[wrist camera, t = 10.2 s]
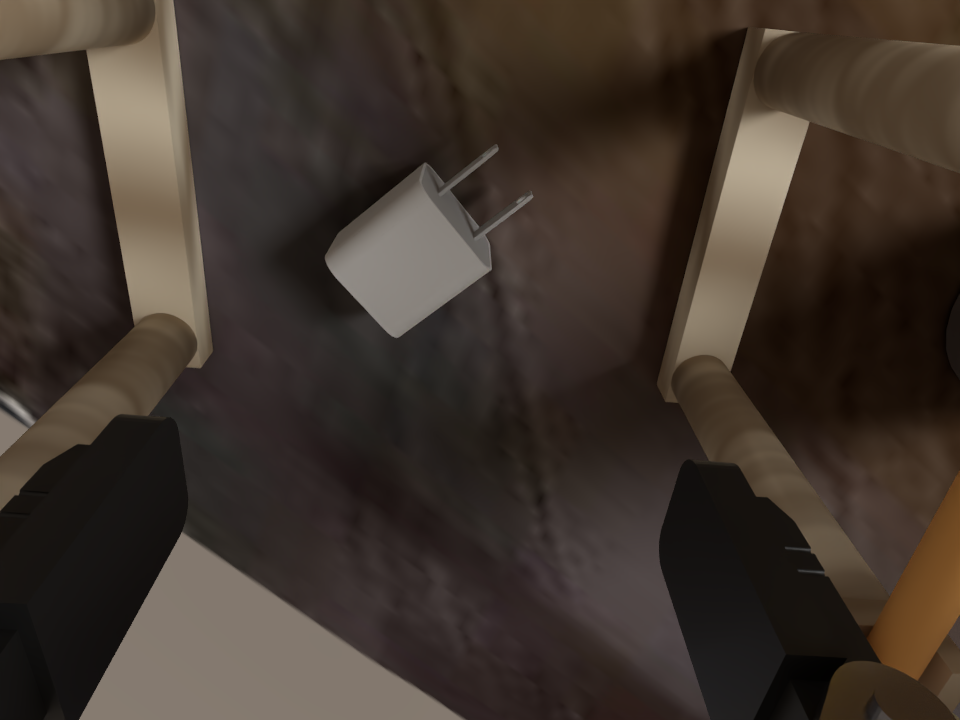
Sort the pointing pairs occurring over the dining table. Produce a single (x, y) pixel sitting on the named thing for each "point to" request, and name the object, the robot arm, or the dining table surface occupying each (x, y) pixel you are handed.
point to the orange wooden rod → (923, 595)
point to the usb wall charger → (414, 249)
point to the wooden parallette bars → (705, 289)
